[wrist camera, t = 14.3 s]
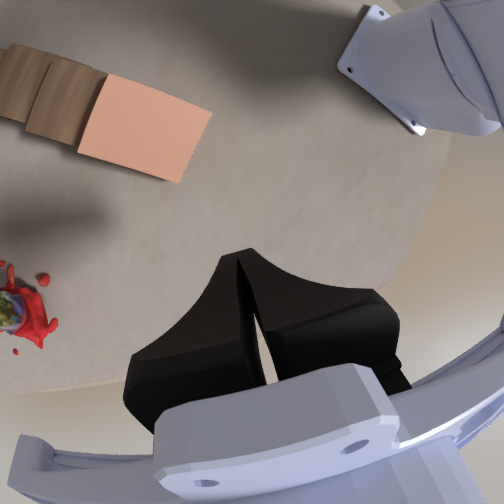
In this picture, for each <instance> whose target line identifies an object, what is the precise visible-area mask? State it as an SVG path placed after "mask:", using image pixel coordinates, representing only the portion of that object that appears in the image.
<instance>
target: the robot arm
mask: <svg viewBox="0 0 504 504" xmlns="http://www.w3.org/2000/svg"><path fill="white" fill-rule="evenodd" d="M379 12H380V13H381V14H382V15H380V13H379ZM337 68H338V70H339V71H340V72H341V73H343V74H344V75H346V76H347V77H349V78H350V79H351V80H353V81H354V82H355V83H357V84H358V85H359V86H361V87H362V88H363V89H365V90H366V91H367V92H369V93H370V94H371V95H372V96H374V97H375V98H376V99H377V100H378V101H380V102H381V103H382V104H383V105H384V106H386V107H387V108H388V109H389V110H390V111H391V112H393V113H394V114H395V115H396V116H397V117H398V118H399V119H400V120H402V121H403V122H404V123H405V124H406V125H407V126H408V127H409V128H410V129H411V130H412V131H413V132H414V133H415V134H417V135H420V136H421V135H423V134H424V132H425V130H426V128H430V129H437V130H443V131H449V132H455V133H461V134H465V135H471V136H482V135H486V134H489V133H492V132H494V131H495V130H497V129H498V128H499V127H500V126H501V127H502V130H503V132H504V0H435V1H432V2H429V3H426V4H423V5H420V6H418V7H415V8H412V9H409V10H407V11H404V12H401V13H399V14H396V15H394V16H390V15H389V14H388V13H386V12H385V11H384V10H383V9H381V8H380V7H379V6H377V5H372V6H370V8H369V9H368V11H367V13H366V14H365V16H364V18H363V20H362V21H361V23H360V25H359V26H358V28H357V30H356V32H355V33H354V35H353V37H352V38H351V40H350V42H349V44H348V45H347V47H346V49H345V51H344V52H343V54H342V56H341V58H340V59H339V61H338V63H337ZM347 68H350V69H351V73H349V72H348V70H347ZM412 121H413V125H412V123H411V122H412ZM254 314H255V317H256V319H257V322H258V324H259V327H260V329H261V332H262V334H263V337H264V339H265V342H266V344H267V346H268V349H269V351H270V354H271V357H272V360H273V363H274V367H275V370H276V373H277V377H278V380H279V382H276V383H272V384H269V385H267V383H266V379H265V375H264V372H263V368H262V364H261V359H260V354H259V348H258V340H257V333H256V326H255V319H254ZM399 331H400V321H399V318H398V315H397V313H396V312H395V311H394V310H393V309H392V307H391V306H390V305H389V304H388V303H387V302H386V301H385V300H384V299H383V298H382V297H381V296H380V295H379V294H378V293H377V292H376V291H375V290H374V289H362V288H343V287H336V286H329V285H324V284H320V283H316V282H312V281H308V280H305V279H302V278H300V277H297V276H295V275H292V274H290V273H287V272H285V271H284V270H282V269H280V268H278V267H277V266H275V265H274V264H272V263H271V262H269V261H268V260H266V259H265V258H264V257H262V256H261V255H260V254H259V253H257V252H256V251H255V250H254V249H252V248H248V249H245V250H241V251H238V252H234V253H230V254H227V255H223V256H221V258H220V260H219V262H218V265H217V267H216V269H215V271H214V274H213V275H212V277H211V279H210V281H209V283H208V285H207V287H206V288H205V290H204V291H203V293H202V295H201V296H200V298H199V299H198V300H197V301H196V303H195V304H194V305H193V306H192V308H191V309H190V310H189V311H188V312H187V313H186V314H185V315H184V316H183V317H182V318H181V319H180V320H179V321H178V322H177V323H176V324H175V325H174V326H173V327H172V328H170V329H169V330H168V331H167V332H166V333H164V334H163V335H162V336H161V337H159V338H158V339H157V340H155V341H154V342H152V343H151V344H149V345H148V346H146V347H144V348H143V349H141V350H140V351H138V352H137V353H135V354H133V355H132V357H131V360H130V364H129V367H128V372H127V377H126V382H125V388H124V394H123V401H124V404H125V406H126V408H127V409H128V410H129V412H130V413H131V414H132V415H133V416H134V417H135V418H136V419H137V420H138V421H139V422H140V423H141V424H142V425H143V426H144V427H146V428H147V429H148V430H149V431H150V432H151V433H152V434H153V435H154V442H153V454H152V455H109V454H92V453H80V452H71V451H63V450H56V449H54V448H53V447H52V446H51V445H50V444H48V443H47V442H46V441H44V440H42V439H40V438H38V437H34V436H28V435H23V434H21V435H20V436H19V439H18V443H17V446H16V449H15V453H14V457H13V461H12V465H11V469H10V473H9V477H8V482H7V484H8V486H9V487H11V488H13V489H14V490H16V491H17V492H19V493H21V494H23V495H24V496H26V497H28V498H30V499H32V500H33V501H35V502H37V503H39V504H488V503H487V501H486V499H485V497H484V495H483V493H482V491H481V489H480V487H479V485H478V484H477V482H476V480H475V478H474V476H473V475H472V473H471V471H470V469H469V467H468V466H467V464H466V462H465V460H464V459H463V457H462V455H461V453H460V452H459V450H460V449H461V448H462V447H464V446H465V445H466V444H467V443H469V442H470V441H471V440H472V439H474V438H475V437H476V436H477V435H478V434H480V433H481V432H482V431H483V430H484V429H485V428H486V427H488V426H489V425H490V424H491V423H492V422H493V421H494V420H495V419H496V418H497V417H499V415H501V414H502V413H503V412H504V315H503V317H502V320H501V323H500V327H498V328H497V329H496V330H495V331H493V332H492V333H491V334H489V335H488V336H487V337H485V338H484V339H483V340H482V341H480V342H479V343H477V344H476V345H474V346H473V347H472V348H470V349H469V350H467V351H466V352H464V353H463V354H462V355H460V356H458V357H457V358H455V359H454V360H452V361H451V362H449V363H448V364H446V365H444V366H443V367H441V368H439V369H438V370H436V371H434V372H433V373H431V374H429V375H427V376H426V377H424V378H422V379H420V380H418V381H417V382H415V383H413V384H411V385H410V383H409V382H408V380H407V379H406V377H405V376H404V374H403V373H402V371H401V370H400V368H401V366H402V365H401V362H400V360H399V359H398V357H397V356H396V355H395V353H396V348H397V343H398V337H399Z"/></svg>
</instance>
